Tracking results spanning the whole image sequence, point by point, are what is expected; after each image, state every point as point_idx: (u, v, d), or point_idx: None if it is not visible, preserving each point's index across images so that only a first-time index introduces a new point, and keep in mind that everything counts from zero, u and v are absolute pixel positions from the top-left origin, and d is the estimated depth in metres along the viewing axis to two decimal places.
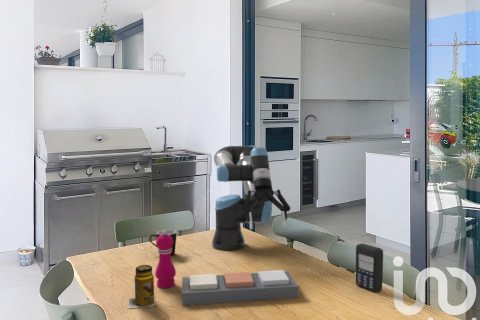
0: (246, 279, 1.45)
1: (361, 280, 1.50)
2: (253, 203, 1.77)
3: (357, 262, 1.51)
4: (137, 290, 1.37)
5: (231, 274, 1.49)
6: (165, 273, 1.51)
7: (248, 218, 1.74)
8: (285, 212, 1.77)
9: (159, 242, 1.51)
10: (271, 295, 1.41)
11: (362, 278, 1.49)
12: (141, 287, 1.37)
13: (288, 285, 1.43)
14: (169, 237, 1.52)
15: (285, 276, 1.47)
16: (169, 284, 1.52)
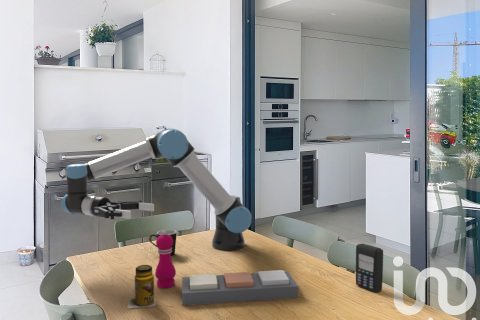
0: (246, 279, 1.45)
1: (361, 280, 1.50)
2: None
3: (357, 262, 1.51)
4: (137, 290, 1.37)
5: (231, 274, 1.49)
6: (165, 273, 1.51)
7: None
8: None
9: (159, 242, 1.51)
10: (271, 295, 1.41)
11: (362, 278, 1.49)
12: (141, 287, 1.37)
13: (288, 285, 1.43)
14: (169, 237, 1.52)
15: (285, 276, 1.47)
16: (169, 284, 1.52)
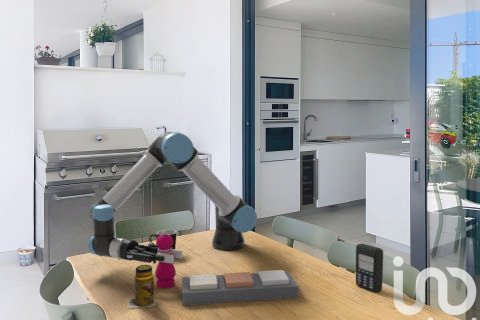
0: (246, 279, 1.45)
1: (361, 280, 1.50)
2: None
3: (357, 262, 1.51)
4: (137, 290, 1.37)
5: (231, 274, 1.49)
6: (165, 273, 1.51)
7: None
8: None
9: (159, 242, 1.51)
10: (271, 295, 1.41)
11: (362, 278, 1.49)
12: (141, 287, 1.37)
13: (288, 285, 1.43)
14: (169, 237, 1.52)
15: (285, 276, 1.47)
16: (169, 284, 1.52)
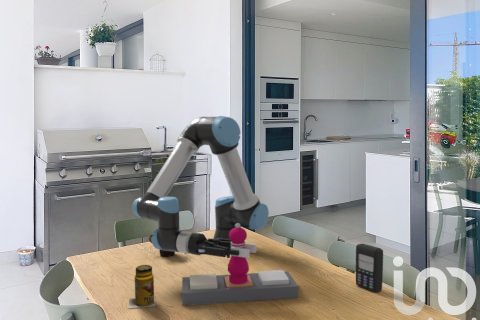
0: (247, 283, 1.45)
1: (361, 280, 1.50)
2: None
3: (357, 262, 1.51)
4: (137, 290, 1.37)
5: None
6: (239, 268, 1.43)
7: None
8: None
9: (233, 235, 1.43)
10: (271, 295, 1.41)
11: (362, 278, 1.49)
12: (141, 287, 1.37)
13: (288, 285, 1.43)
14: (243, 230, 1.44)
15: (285, 276, 1.47)
16: (243, 280, 1.44)
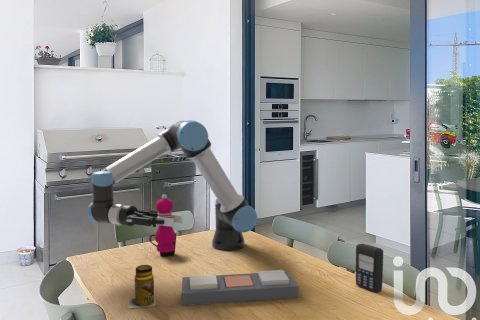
0: (247, 283, 1.45)
1: (361, 280, 1.50)
2: None
3: (357, 262, 1.51)
4: (137, 290, 1.37)
5: (231, 278, 1.49)
6: (165, 236, 1.50)
7: None
8: None
9: (159, 205, 1.49)
10: (271, 295, 1.41)
11: (362, 278, 1.49)
12: (141, 287, 1.37)
13: (288, 285, 1.43)
14: (169, 201, 1.51)
15: (285, 276, 1.47)
16: (169, 248, 1.51)
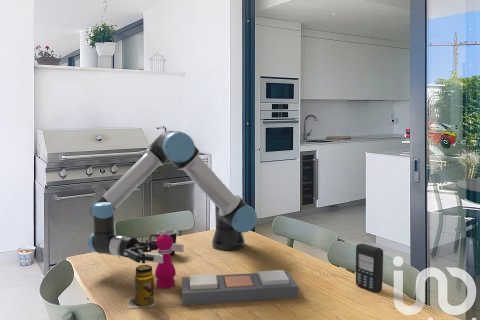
0: (247, 283, 1.45)
1: (361, 280, 1.50)
2: None
3: (357, 262, 1.51)
4: (137, 290, 1.37)
5: (231, 278, 1.49)
6: (165, 273, 1.51)
7: None
8: None
9: (159, 242, 1.51)
10: (271, 295, 1.41)
11: (362, 278, 1.49)
12: (141, 287, 1.37)
13: (288, 285, 1.43)
14: (169, 237, 1.52)
15: (285, 276, 1.47)
16: (169, 284, 1.52)
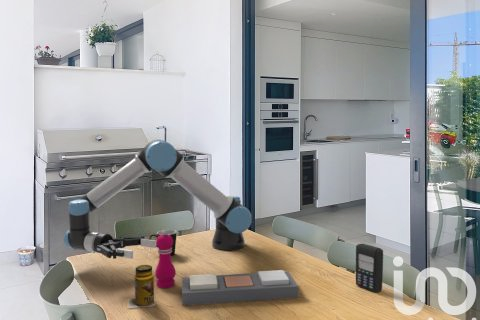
0: (247, 283, 1.45)
1: (361, 280, 1.50)
2: None
3: (357, 262, 1.51)
4: (137, 290, 1.37)
5: (231, 278, 1.49)
6: (165, 273, 1.51)
7: None
8: None
9: (159, 242, 1.51)
10: (271, 295, 1.41)
11: (362, 278, 1.49)
12: (141, 287, 1.37)
13: (288, 285, 1.43)
14: (169, 237, 1.52)
15: (285, 276, 1.47)
16: (169, 284, 1.52)
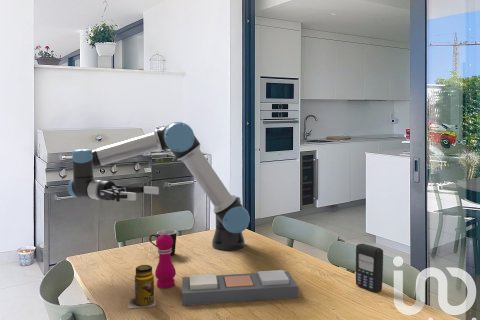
0: (247, 283, 1.45)
1: (361, 280, 1.50)
2: None
3: (357, 262, 1.51)
4: (137, 290, 1.37)
5: (231, 278, 1.49)
6: (165, 273, 1.51)
7: None
8: (120, 198, 1.55)
9: (159, 242, 1.51)
10: (271, 295, 1.41)
11: (362, 278, 1.49)
12: (141, 287, 1.37)
13: (288, 285, 1.43)
14: (169, 237, 1.52)
15: (285, 276, 1.47)
16: (169, 284, 1.52)
